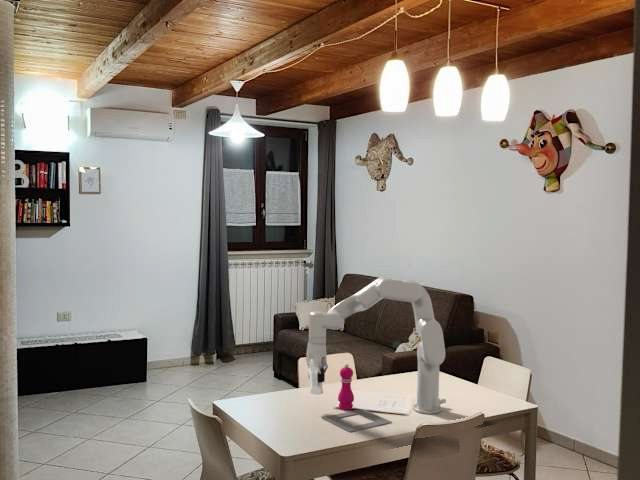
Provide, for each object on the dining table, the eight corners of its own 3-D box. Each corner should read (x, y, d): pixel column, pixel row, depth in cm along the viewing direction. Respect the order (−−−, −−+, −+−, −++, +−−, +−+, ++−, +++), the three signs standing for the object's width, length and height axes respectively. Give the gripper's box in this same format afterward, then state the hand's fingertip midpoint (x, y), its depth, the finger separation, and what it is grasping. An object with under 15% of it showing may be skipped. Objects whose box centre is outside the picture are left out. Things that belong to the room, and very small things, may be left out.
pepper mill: (352, 411, 284) (353, 366, 283) (336, 409, 286) (337, 365, 285) (354, 406, 291) (355, 362, 290) (339, 404, 293) (340, 361, 292)
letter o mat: (362, 409, 286) (362, 408, 286) (391, 422, 270) (391, 421, 270) (321, 418, 274) (321, 417, 274) (349, 432, 258) (349, 431, 258)
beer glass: (327, 391, 284) (327, 358, 283) (318, 395, 278) (319, 361, 277) (313, 389, 288) (314, 356, 287) (305, 393, 282) (305, 359, 281)
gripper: (299, 337, 287) (298, 376, 288) (321, 344, 272) (320, 386, 273) (313, 335, 291) (312, 374, 292) (335, 342, 276) (334, 383, 277)
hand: (316, 379), depth 283 cm, fingers closed on beer glass, 6 cm apart
